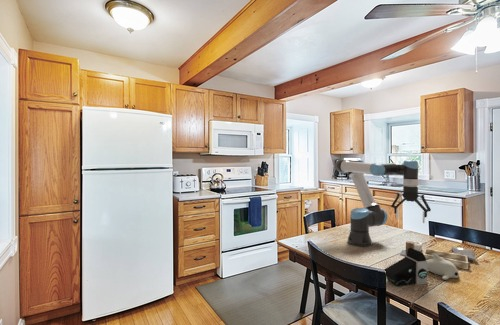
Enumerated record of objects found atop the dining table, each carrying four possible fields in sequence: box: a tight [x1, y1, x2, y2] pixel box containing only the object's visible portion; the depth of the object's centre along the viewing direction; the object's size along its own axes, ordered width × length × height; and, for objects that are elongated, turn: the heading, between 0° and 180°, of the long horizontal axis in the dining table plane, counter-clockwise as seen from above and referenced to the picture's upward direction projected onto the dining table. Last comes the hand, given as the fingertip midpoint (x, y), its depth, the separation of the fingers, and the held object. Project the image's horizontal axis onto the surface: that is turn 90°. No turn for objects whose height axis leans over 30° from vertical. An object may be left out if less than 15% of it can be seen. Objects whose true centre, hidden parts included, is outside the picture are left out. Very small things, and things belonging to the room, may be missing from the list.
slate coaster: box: [399, 249, 407, 257], centre depth 155 cm, size 9×9×1 cm
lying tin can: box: [451, 246, 475, 262], centre depth 148 cm, size 10×6×6 cm, turn 52°
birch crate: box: [423, 248, 469, 270], centre depth 145 cm, size 20×12×4 cm, turn 52°
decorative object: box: [383, 248, 428, 287], centre depth 121 cm, size 8×18×15 cm, turn 102°
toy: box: [427, 253, 460, 281], centre depth 130 cm, size 17×19×10 cm
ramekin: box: [410, 240, 423, 252], centre depth 164 cm, size 8×8×4 cm
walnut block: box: [405, 240, 414, 254], centre depth 155 cm, size 4×4×7 cm
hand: (410, 220), depth 154 cm, fingers open, 13 cm apart
